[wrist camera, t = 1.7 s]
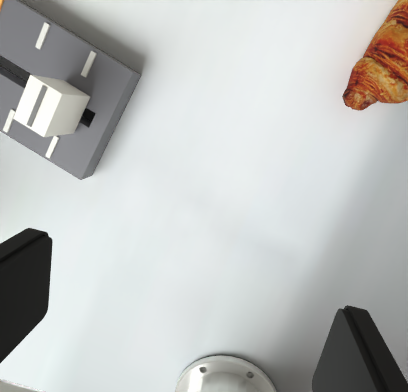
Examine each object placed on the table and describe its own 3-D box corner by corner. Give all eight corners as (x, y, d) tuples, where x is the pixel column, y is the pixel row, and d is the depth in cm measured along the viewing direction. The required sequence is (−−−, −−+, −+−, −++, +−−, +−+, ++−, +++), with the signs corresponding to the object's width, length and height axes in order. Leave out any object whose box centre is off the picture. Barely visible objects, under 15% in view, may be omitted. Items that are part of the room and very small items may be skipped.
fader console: (91, 175, 37) (79, 180, 34) (-50, 89, 37) (-73, 87, 34) (141, 74, 34) (132, 71, 31) (-15, -21, 34) (-37, -32, 31)
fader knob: (82, 132, 35) (43, 137, 28) (57, 117, 35) (12, 118, 28) (98, 97, 34) (61, 94, 27) (73, 81, 34) (29, 74, 27)
